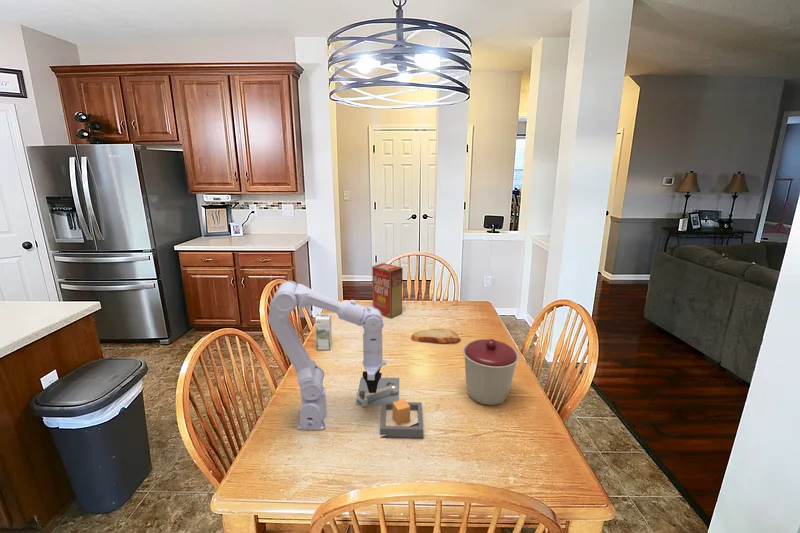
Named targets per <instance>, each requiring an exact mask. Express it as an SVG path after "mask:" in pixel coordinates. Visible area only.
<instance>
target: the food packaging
mask: <svg viewBox="0 0 800 533" xmlns="http://www.w3.org/2000/svg"><path fill="white" fill-rule="evenodd" d="M371 269H372V276H371V277H372V307H375V308H377V309H378V310H379V311H380V313H381V315H382V316H383V317H385V318H388V319H393V318H396V317H398V316H400V315H402V314H403V267H401V266H397V265H393V264H388V263H385V262H380V263H379V264H377V265H372V268H371Z"/></svg>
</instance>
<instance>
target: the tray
mask: <svg viewBox="0 0 800 533" xmlns="http://www.w3.org/2000/svg"><path fill="white" fill-rule="evenodd" d="M406 402H407V403H408V404H409V406H410V411H417V423H416V422H415V423H413V424H411V425H409V426H408V425H407V426H405V425H403V426H402V425H399V426H398V425H386V418H387V417H386V416H387V415H386V414H387V410H388V411H393V402H382V406H381V414H380V415H381V417H380V427H379V435H381V436H380V439H415V440H416V439H418V440H423V439H424V420H423V419H424V418H423V406H422V403H423V402H415V401H413V402H411V401H409V402H408V401H406Z"/></svg>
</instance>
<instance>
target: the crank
mask: <svg viewBox="0 0 800 533" xmlns="http://www.w3.org/2000/svg"><path fill="white" fill-rule="evenodd" d="M397 394H398V385H397V384H396V383H391V384H389V386H387V387H384V388H380V389H377V391H376V393H369V392H368V393H365V392H364V391H360V392H358V391H357V392H356V399H357V400H358V401H359V403H360V404H361V405H360V406H361V407H362V408H365V407H367V406H368V402H370V401H373V400H376V399H379V398H382V397H385V396H388V395H397Z"/></svg>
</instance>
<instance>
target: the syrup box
mask: <svg viewBox="0 0 800 533" xmlns="http://www.w3.org/2000/svg"><path fill="white" fill-rule="evenodd" d="M314 320H315V340H316V351H331V349H332V345H333V336H332V335H333V334H332V333H333V332H332V314H331V313H317V314H316V317H315V319H314Z"/></svg>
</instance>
